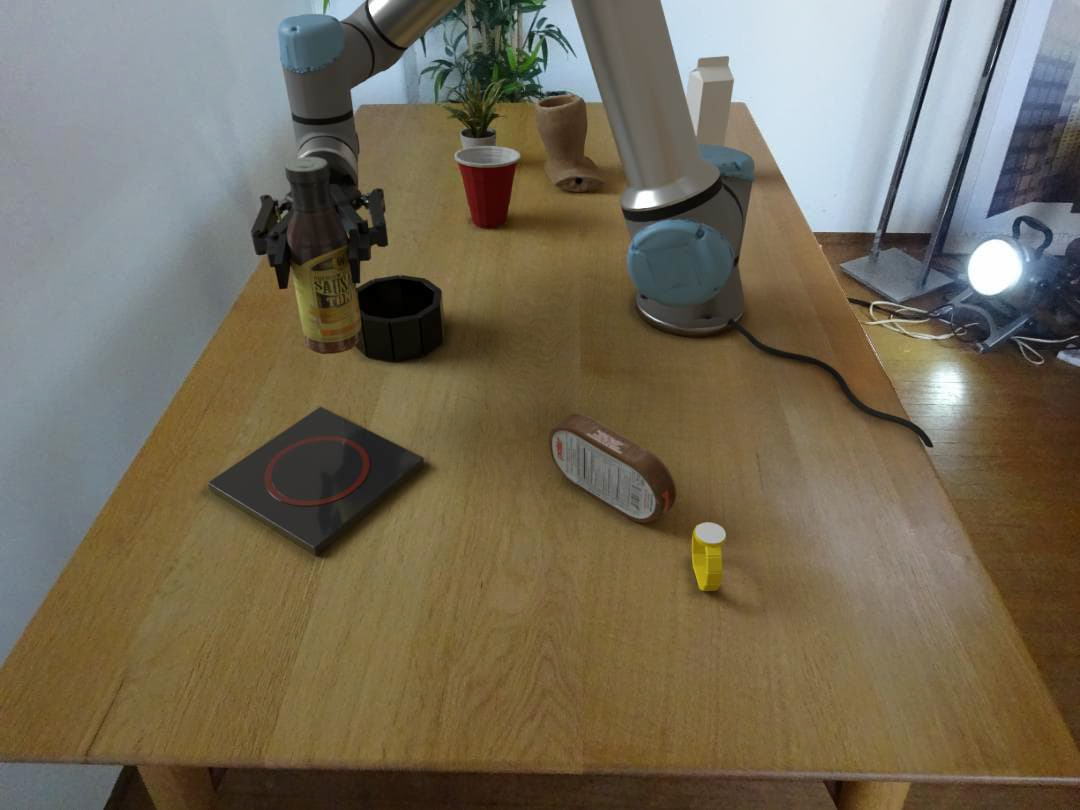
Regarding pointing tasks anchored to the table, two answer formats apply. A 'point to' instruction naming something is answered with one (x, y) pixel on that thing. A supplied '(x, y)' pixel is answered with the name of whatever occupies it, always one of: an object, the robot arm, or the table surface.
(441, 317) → the bottle holder
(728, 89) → the milk
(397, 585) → the table surface
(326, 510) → the hob plate
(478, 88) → the house plant
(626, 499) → the tin
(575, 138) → the clay boot vase
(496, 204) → the plastic cup
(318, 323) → the sauce bottle
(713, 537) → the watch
